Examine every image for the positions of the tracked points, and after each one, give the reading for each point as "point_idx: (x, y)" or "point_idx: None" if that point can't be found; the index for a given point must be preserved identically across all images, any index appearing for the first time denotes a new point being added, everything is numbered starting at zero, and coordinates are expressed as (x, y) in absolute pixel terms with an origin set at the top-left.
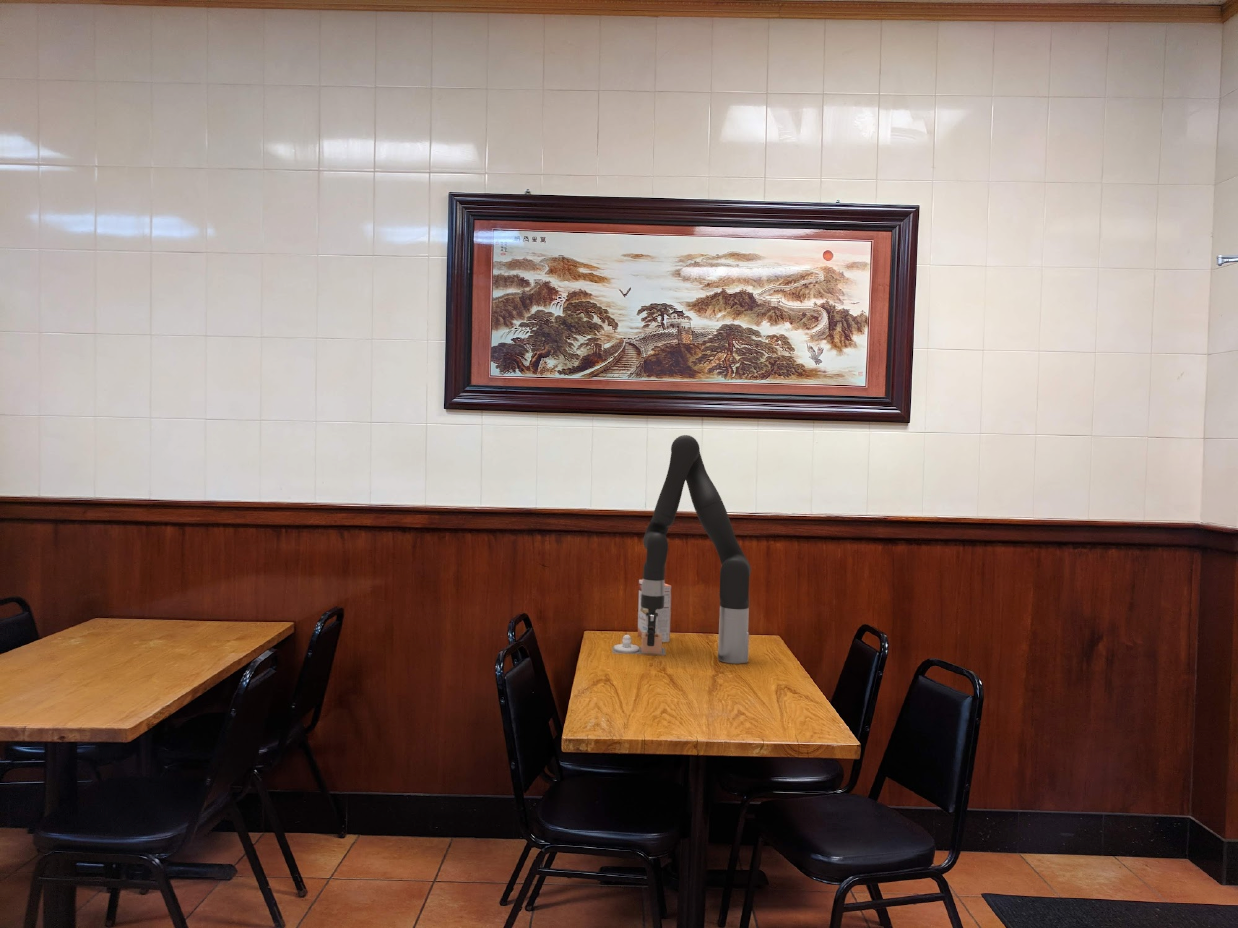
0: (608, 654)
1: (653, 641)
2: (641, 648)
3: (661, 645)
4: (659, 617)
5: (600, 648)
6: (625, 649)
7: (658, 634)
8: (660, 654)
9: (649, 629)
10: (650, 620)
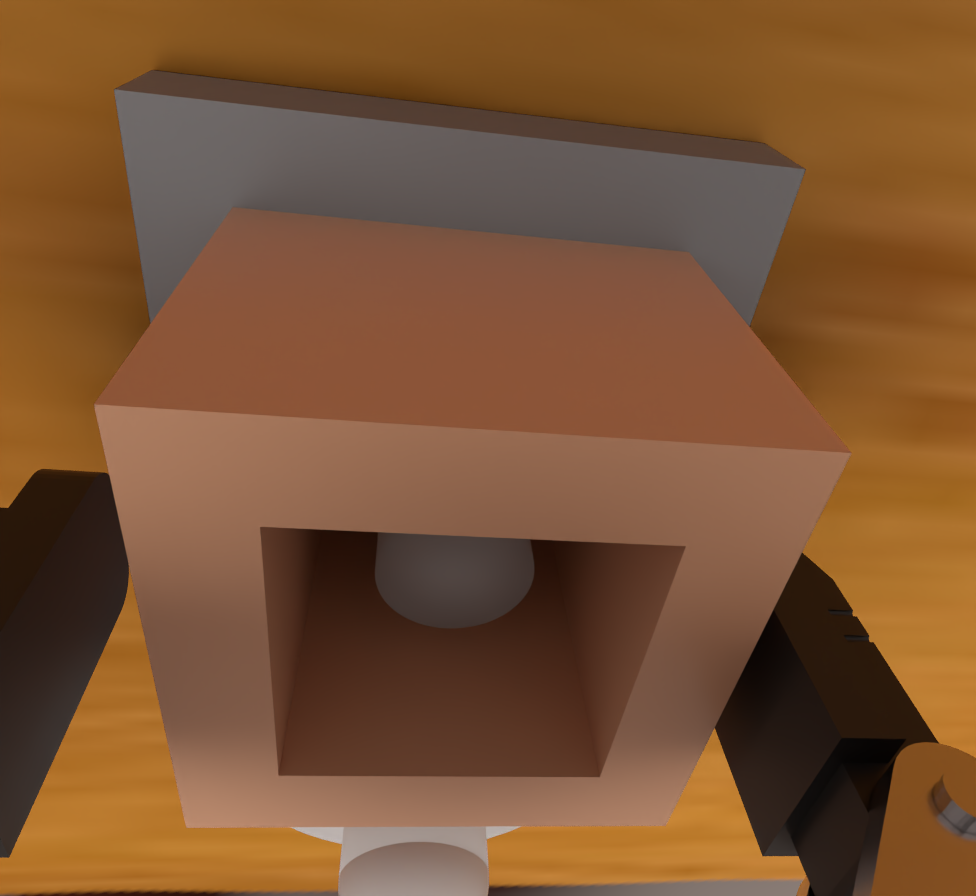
0: None
1: (798, 590)
2: None
3: (755, 341)
4: None
5: (173, 843)
6: None
7: (273, 507)
8: (745, 280)
9: (8, 792)
10: None
